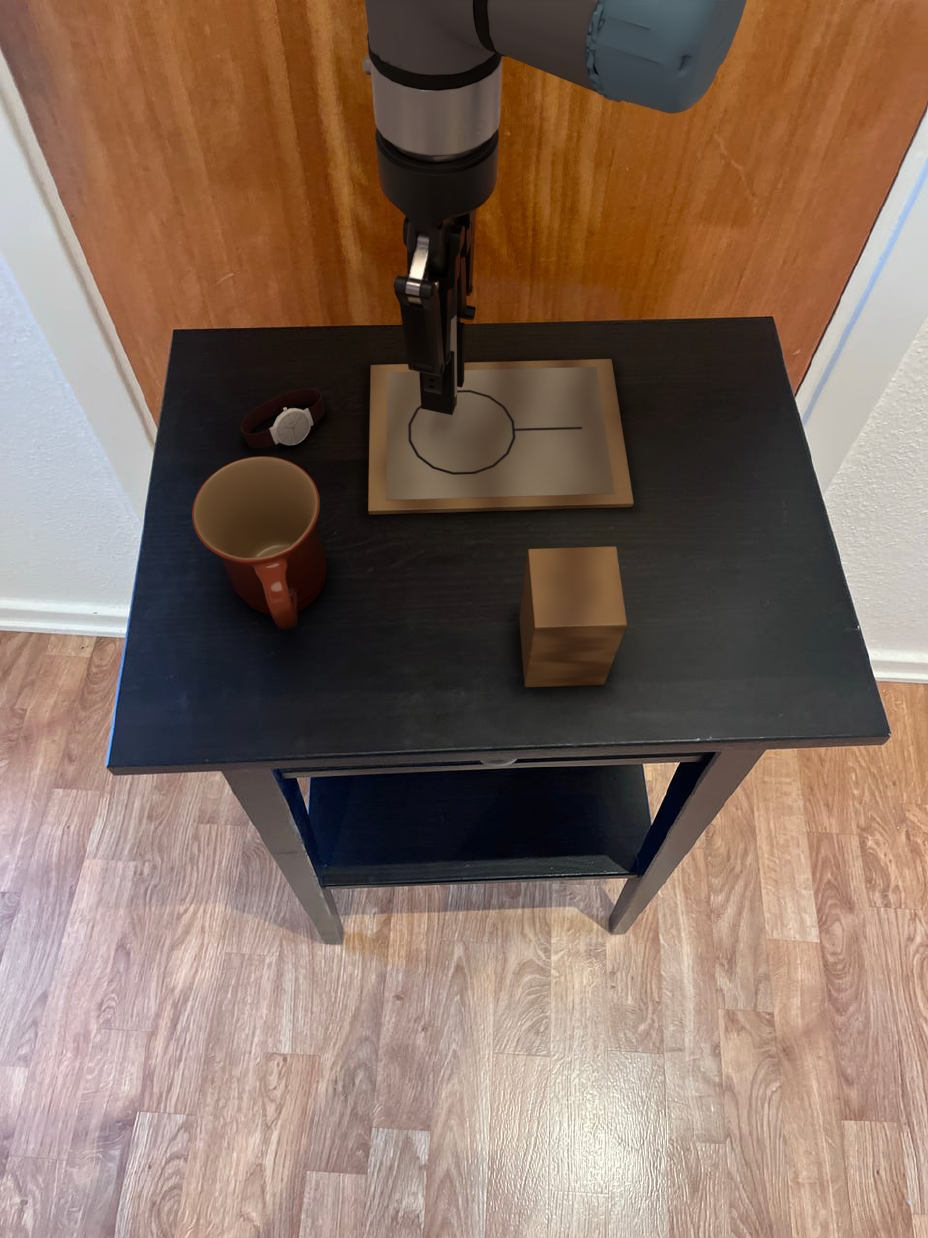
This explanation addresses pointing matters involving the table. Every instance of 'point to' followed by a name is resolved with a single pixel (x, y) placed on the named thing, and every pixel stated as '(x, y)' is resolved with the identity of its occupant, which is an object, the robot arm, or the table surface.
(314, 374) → the table surface
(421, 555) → the table surface
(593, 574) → the wooden block
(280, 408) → the watch
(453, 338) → the marker
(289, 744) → the table surface
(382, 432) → the sketch pad
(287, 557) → the mug
